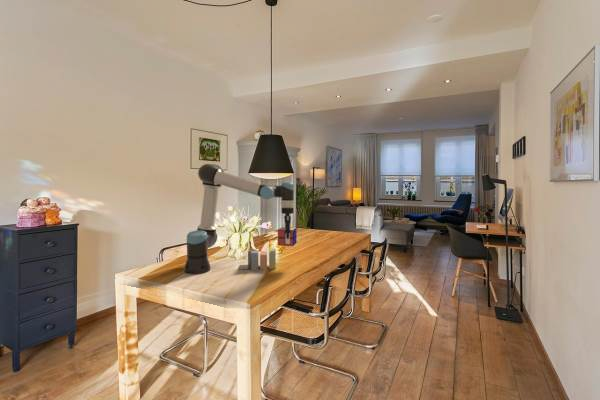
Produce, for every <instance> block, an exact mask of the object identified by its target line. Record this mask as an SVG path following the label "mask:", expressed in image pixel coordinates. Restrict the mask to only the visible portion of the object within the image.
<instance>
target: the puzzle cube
mask: <svg viewBox="0 0 600 400" xmlns="http://www.w3.org/2000/svg"><path fill="white" fill-rule="evenodd" d="M297 231H298V230H297V227H290V244H285V232H286V227H285V226H284V227H283V226H282V227H280V228H278V229H277V246H282V247H283V246H284V247H294V246H295V245H296V244H297V239H298V238H297V237H298V236H297V233H298V232H297Z"/></svg>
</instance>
